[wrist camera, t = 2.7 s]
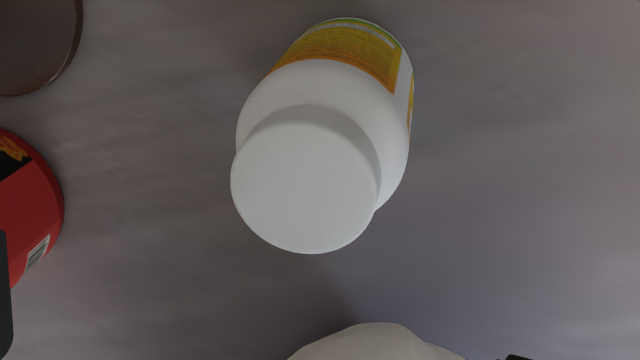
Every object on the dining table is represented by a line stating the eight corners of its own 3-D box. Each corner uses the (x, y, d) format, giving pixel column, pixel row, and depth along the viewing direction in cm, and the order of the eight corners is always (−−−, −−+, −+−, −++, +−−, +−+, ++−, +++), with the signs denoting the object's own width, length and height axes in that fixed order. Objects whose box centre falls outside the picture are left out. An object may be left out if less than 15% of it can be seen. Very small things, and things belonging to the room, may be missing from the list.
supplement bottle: (260, 49, 24) (164, 143, 15) (380, -10, 22) (347, 58, 13) (320, 160, 26) (263, 298, 17) (435, 114, 24) (437, 243, 15)
